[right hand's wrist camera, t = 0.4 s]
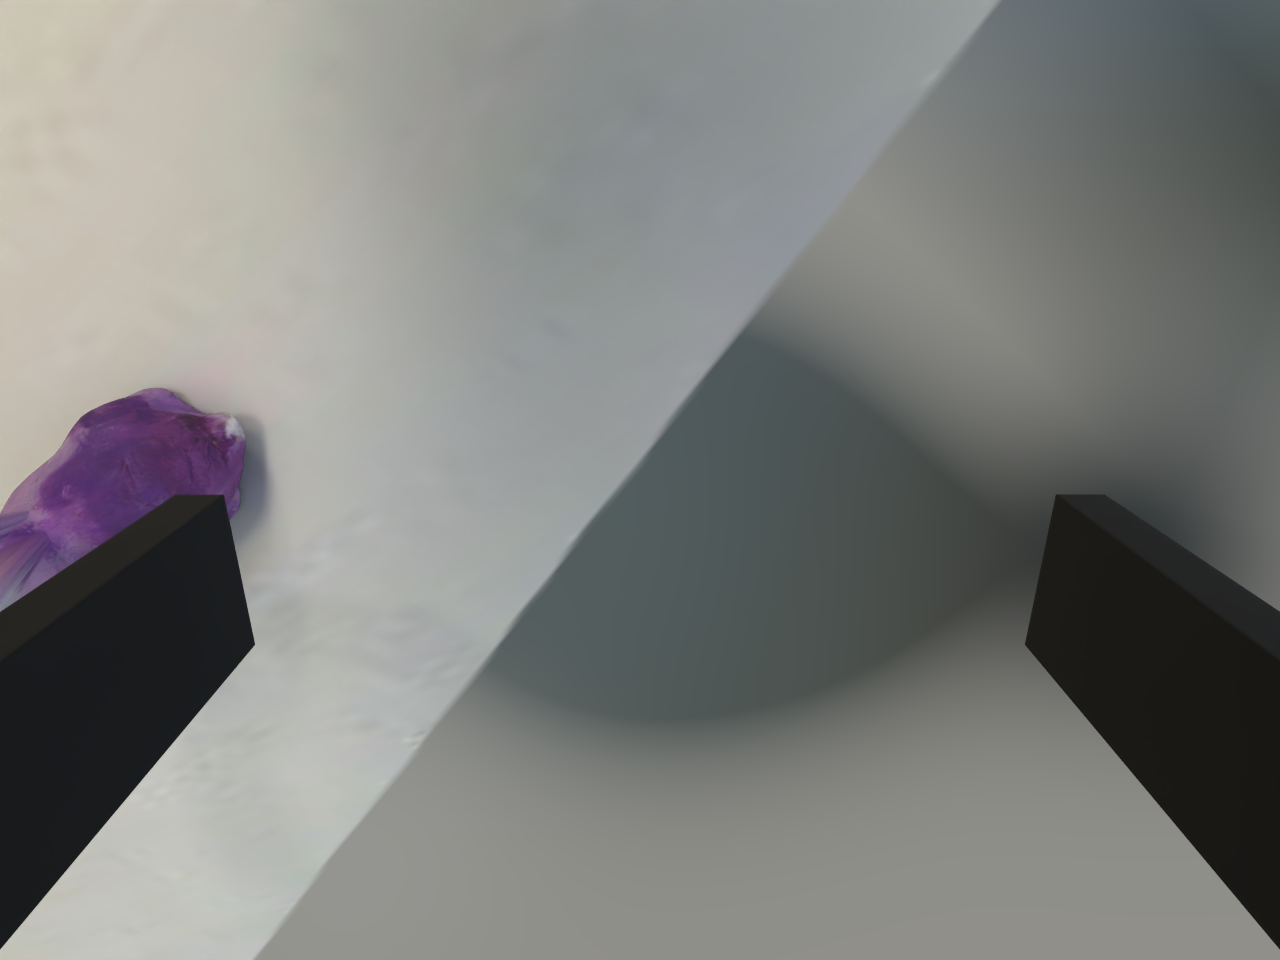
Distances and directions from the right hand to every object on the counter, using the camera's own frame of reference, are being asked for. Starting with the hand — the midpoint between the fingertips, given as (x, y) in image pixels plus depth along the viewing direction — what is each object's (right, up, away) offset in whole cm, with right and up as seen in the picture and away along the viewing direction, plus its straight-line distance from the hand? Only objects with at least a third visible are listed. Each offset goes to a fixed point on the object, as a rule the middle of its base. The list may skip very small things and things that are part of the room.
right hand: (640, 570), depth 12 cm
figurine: (-25, +2, +29) cm, 39 cm away
